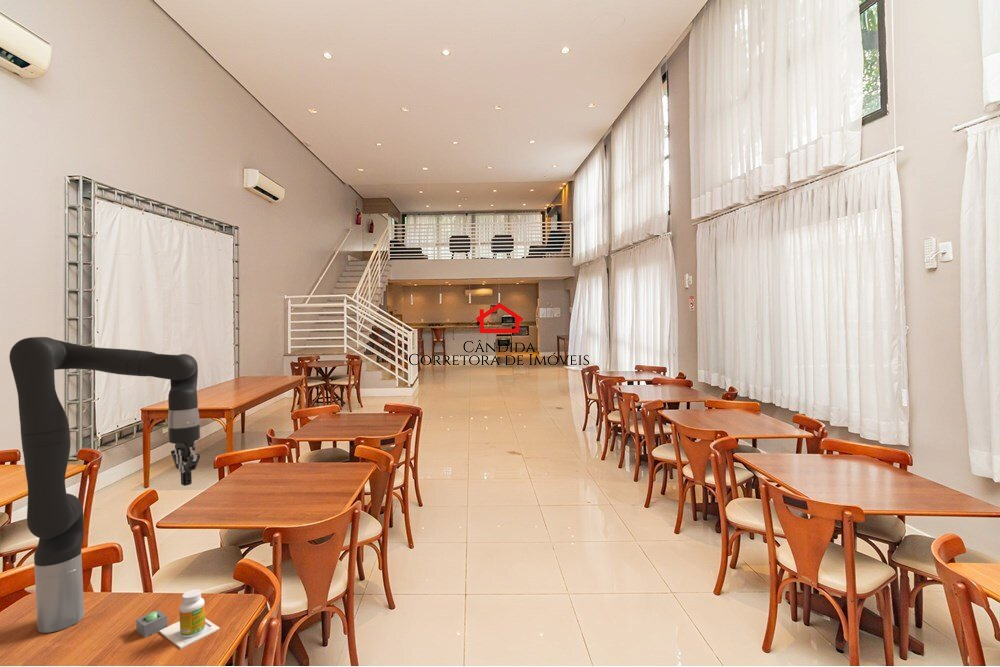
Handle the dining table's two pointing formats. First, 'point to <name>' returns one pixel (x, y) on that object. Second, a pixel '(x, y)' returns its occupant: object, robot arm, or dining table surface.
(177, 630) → the white flat block
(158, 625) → the button housing
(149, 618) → the button
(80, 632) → the dining table surface
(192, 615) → the supplement bottle
